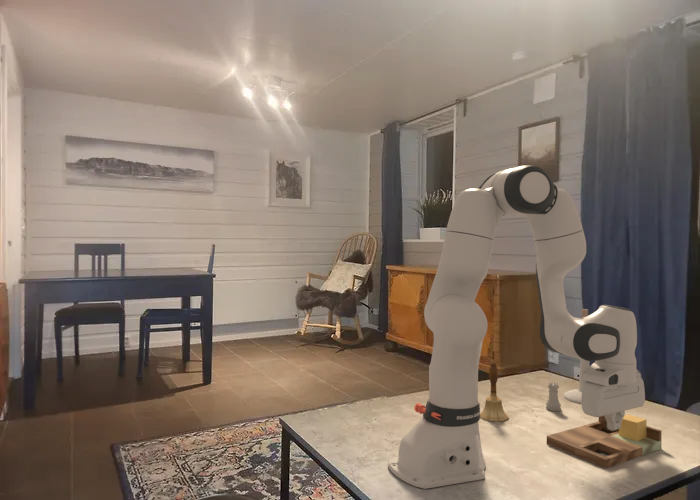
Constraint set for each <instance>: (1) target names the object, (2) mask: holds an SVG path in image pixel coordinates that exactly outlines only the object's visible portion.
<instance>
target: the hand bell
mask: <svg viewBox="0 0 700 500" xmlns="http://www.w3.org/2000/svg"><path fill="white" fill-rule="evenodd" d="M488 378H489V382H490V396H488V397H486V398H485V402H484V407H483V409H482V411H480V419H482V420H485V421H489V422H495V423H496V422H497V423H498V422H500V423H501V422H505V421H506V422H507V421H508V420H509V419H510V417H509V415H508V414H507V413H506V412H505V410H504V406H503V401H502V399H501V398H500V397H499V396H497V395H498V394H497V382H498V379H499V371H498V367H497V363H496V362H491V363H490V366H489V370H488Z"/></svg>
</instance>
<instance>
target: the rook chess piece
mask: <svg viewBox="0 0 700 500" xmlns="http://www.w3.org/2000/svg"><path fill="white" fill-rule="evenodd" d="M547 387H548V392H549V393H548V399H547V401H546V403H545V408H546V410H547V411H549V412H550V411H551V412H559V411H561V410H562V404H561V402H560V401H559V395H558V394H559V390H558V389H559V388H560V387H559V385H558V383H557V382H552V381H550V382H548V385H547Z"/></svg>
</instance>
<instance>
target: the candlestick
mask: <svg viewBox="0 0 700 500" xmlns="http://www.w3.org/2000/svg"><path fill="white" fill-rule="evenodd" d="M580 311H581V315H580V316H581V318H580V319H582V318H583V317H586V316H589V309H587V308H582V309H581V310H580ZM579 361H580V362H579V381H578V382H579V383H578V388H575V389H570V390H567V391H566V392H564V393H563V398H564V399H565V400H567V401H569V402H570V403H571V402H572V403H576V404H579V405H582V386H583V384H584V382H585V381H584V380H582V372H583V371H584V370H586V369H587V368H589V367H590V366H591V365H590V361H584V360H581V359H579Z"/></svg>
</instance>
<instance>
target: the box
mask: <svg viewBox="0 0 700 500" xmlns="http://www.w3.org/2000/svg"><path fill="white" fill-rule="evenodd" d="M646 432H647V437H646V438H644V439H641V440H639V441H635V440H632V439H629V438H625V437H622V436H619V429H617V430H614V431H612V430H609V429H608V428H607V421H606V419H605V416H600V417H598V421H596V422H592V423H589V424H584V425H581V426H577V427H574V428H570V429H566V430H562V431H560V432H556V433H551V434H549V435H546V444H547V445H549V446H551V447H553V448H556V449H558V450H561V451H563V452H566V453H568V454H570V455H573V456H575V457H578V458H580V459H582V460H585V461H587V462H590V463H593V464H594V465H597V466H600V467H602V468H604V469H609V468H612V467H615V466H618V465H620V464H623V463H626V462H628V461H631V460H633V459H637V458H640V457H642V456H645V455H648V454H650V453H653V452H657V451H659V450H662V445H663V444H662V429H657V428H654V427H651V426H648V425H646Z"/></svg>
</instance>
